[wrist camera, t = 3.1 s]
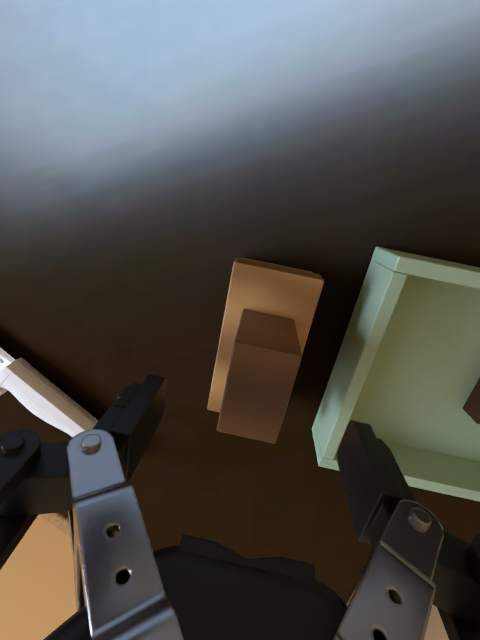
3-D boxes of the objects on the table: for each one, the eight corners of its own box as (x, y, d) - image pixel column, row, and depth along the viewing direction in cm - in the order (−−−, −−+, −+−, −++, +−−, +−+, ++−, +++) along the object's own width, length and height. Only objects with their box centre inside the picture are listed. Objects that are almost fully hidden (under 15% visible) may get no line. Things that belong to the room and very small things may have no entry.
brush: (239, 252, 19) (221, 281, 12) (316, 269, 19) (343, 306, 12) (214, 384, 23) (189, 464, 16) (279, 398, 23) (283, 485, 16)
